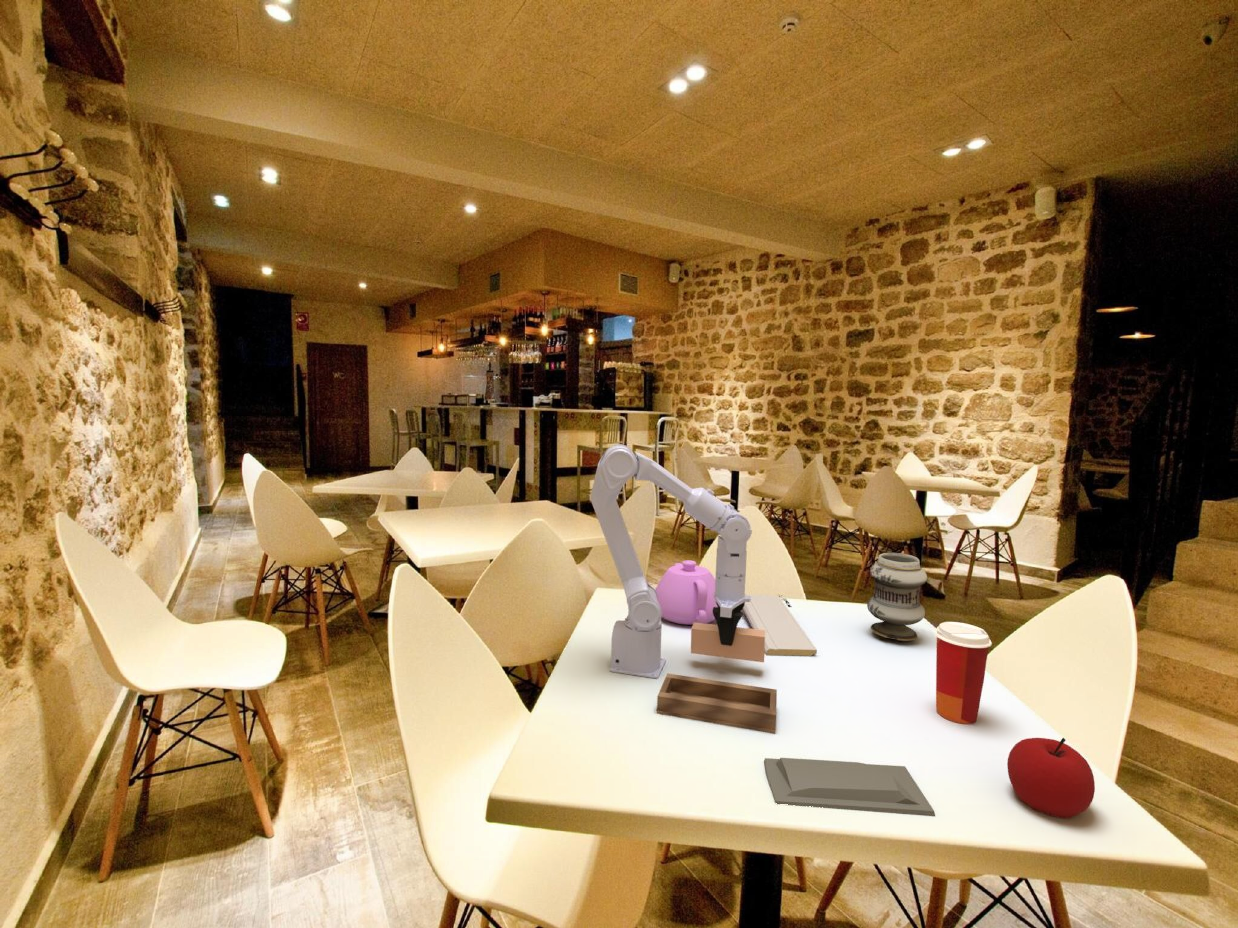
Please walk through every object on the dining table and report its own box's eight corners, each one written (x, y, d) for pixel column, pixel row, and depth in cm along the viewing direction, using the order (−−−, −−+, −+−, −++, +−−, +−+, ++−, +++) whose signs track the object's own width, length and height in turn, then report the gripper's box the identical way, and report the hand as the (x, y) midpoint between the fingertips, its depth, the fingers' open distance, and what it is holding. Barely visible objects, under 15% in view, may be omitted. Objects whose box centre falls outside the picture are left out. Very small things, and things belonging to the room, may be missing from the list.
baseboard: (824, 649, 119) (766, 648, 119) (823, 662, 119) (765, 661, 119) (783, 594, 149) (737, 593, 150) (782, 605, 150) (737, 603, 150)
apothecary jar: (866, 637, 130) (871, 559, 128) (865, 619, 141) (870, 548, 139) (925, 646, 125) (932, 566, 123) (920, 627, 136) (925, 553, 134)
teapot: (757, 629, 133) (759, 571, 132) (668, 636, 128) (670, 576, 127) (719, 598, 154) (721, 548, 153) (642, 603, 149) (643, 551, 148)
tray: (656, 716, 95) (657, 696, 94) (667, 691, 103) (667, 672, 103) (775, 736, 89) (776, 715, 89) (775, 708, 98) (776, 688, 98)
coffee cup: (977, 707, 100) (984, 624, 98) (990, 732, 92) (998, 642, 90) (923, 698, 102) (930, 617, 101) (932, 721, 95) (939, 634, 93)
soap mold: (938, 830, 71) (940, 803, 71) (775, 819, 72) (776, 793, 72) (903, 777, 81) (904, 753, 81) (760, 768, 83) (761, 745, 82)
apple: (1046, 781, 80) (1053, 713, 79) (1111, 828, 71) (1120, 752, 70) (988, 787, 78) (994, 718, 77) (1047, 835, 70) (1055, 758, 69)
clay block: (690, 653, 112) (691, 628, 112) (693, 646, 116) (694, 622, 115) (763, 662, 109) (764, 636, 108) (764, 654, 112) (765, 630, 112)
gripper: (749, 586, 103) (746, 658, 104) (753, 565, 117) (750, 629, 118) (710, 581, 105) (707, 653, 106) (718, 561, 118) (716, 625, 120)
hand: (727, 640), depth 112 cm, fingers closed on clay block, 3 cm apart
